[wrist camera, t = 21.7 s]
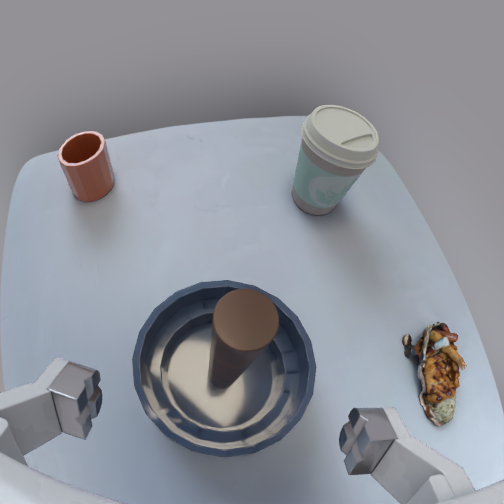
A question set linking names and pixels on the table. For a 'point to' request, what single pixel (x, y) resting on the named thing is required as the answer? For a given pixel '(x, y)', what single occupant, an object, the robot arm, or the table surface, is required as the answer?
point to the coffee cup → (332, 157)
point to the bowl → (209, 396)
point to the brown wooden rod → (239, 334)
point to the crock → (87, 165)
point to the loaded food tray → (437, 370)
